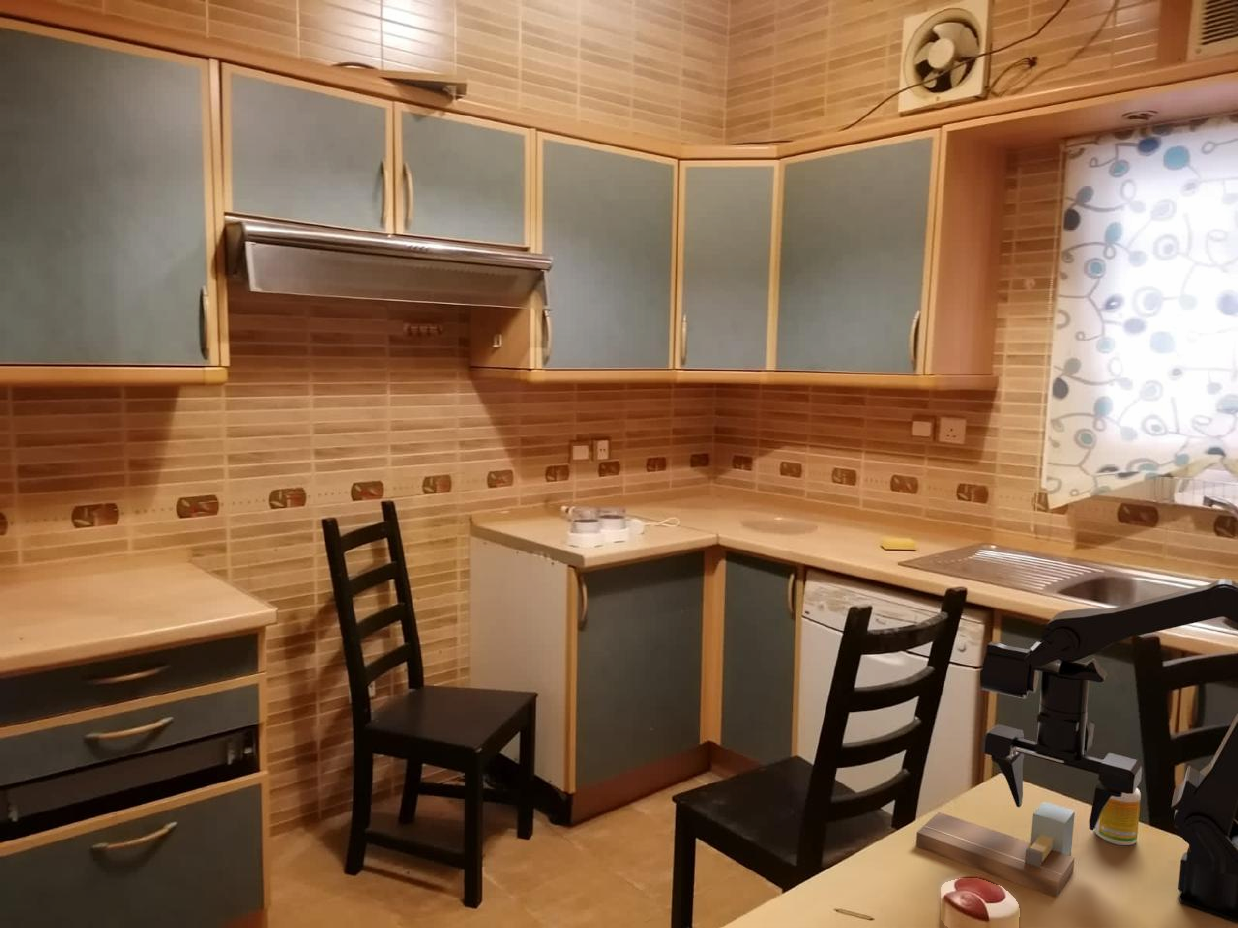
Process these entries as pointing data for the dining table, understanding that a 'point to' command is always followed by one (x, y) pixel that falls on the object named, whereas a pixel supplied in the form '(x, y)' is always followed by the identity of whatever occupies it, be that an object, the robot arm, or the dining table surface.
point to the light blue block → (1050, 832)
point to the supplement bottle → (1120, 819)
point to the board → (994, 853)
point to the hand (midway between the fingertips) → (1054, 817)
